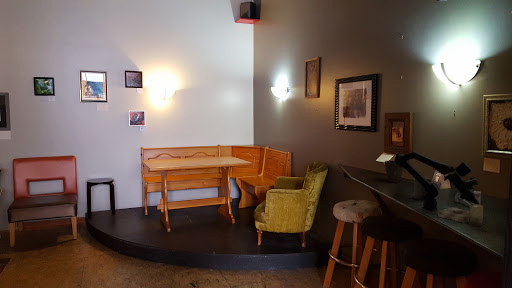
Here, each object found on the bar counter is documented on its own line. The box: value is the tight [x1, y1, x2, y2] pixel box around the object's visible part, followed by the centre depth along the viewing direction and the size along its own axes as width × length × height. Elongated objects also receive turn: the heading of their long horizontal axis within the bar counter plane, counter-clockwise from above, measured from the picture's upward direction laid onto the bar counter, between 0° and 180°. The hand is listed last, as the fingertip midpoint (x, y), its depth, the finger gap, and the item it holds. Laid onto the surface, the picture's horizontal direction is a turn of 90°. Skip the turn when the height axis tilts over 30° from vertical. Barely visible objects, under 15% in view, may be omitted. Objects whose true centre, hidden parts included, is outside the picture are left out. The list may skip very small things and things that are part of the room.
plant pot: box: [384, 160, 404, 184], centre depth 311 cm, size 15×15×16 cm
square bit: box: [470, 190, 482, 205], centre depth 221 cm, size 4×4×13 cm
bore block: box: [437, 207, 470, 224], centre depth 216 cm, size 14×14×3 cm
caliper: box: [454, 192, 471, 208], centre depth 240 cm, size 20×1×6 cm, turn 6°
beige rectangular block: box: [468, 203, 484, 227], centre depth 203 cm, size 6×6×10 cm
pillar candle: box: [413, 176, 432, 201], centre depth 258 cm, size 10×10×15 cm
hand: (478, 203), depth 220 cm, fingers closed on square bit, 4 cm apart
